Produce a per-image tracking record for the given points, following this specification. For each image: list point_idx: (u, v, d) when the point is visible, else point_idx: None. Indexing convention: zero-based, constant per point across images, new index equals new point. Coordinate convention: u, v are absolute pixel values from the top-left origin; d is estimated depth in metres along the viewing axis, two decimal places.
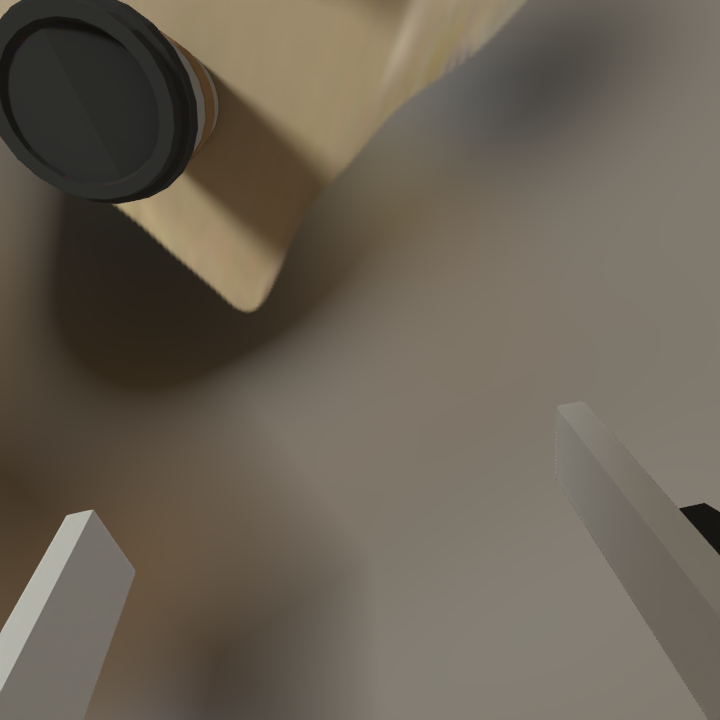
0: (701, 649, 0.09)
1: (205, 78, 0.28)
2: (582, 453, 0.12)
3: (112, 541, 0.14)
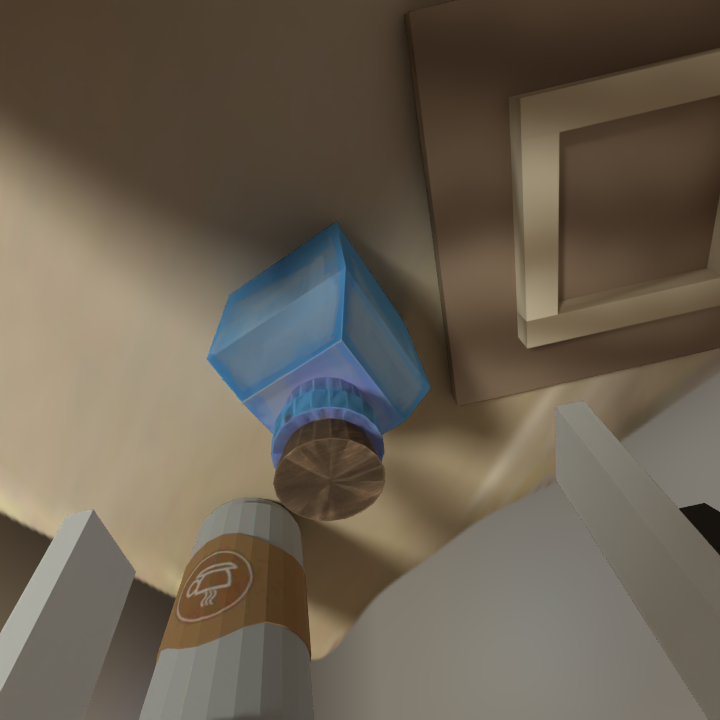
0: (701, 649, 0.09)
1: (301, 585, 0.27)
2: (582, 453, 0.12)
3: (112, 541, 0.14)
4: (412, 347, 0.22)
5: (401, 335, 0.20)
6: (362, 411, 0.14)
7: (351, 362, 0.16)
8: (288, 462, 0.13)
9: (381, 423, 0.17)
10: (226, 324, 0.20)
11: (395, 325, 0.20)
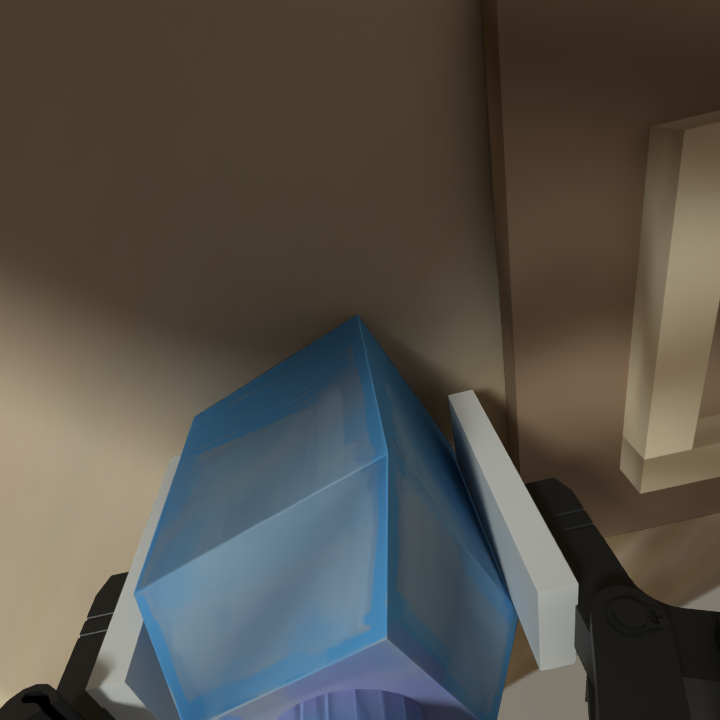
0: (524, 598, 0.10)
1: None
2: (463, 436, 0.13)
3: None
4: (476, 514, 0.14)
5: (465, 511, 0.13)
6: None
7: (404, 667, 0.08)
8: None
9: None
10: (177, 498, 0.12)
11: (455, 493, 0.13)
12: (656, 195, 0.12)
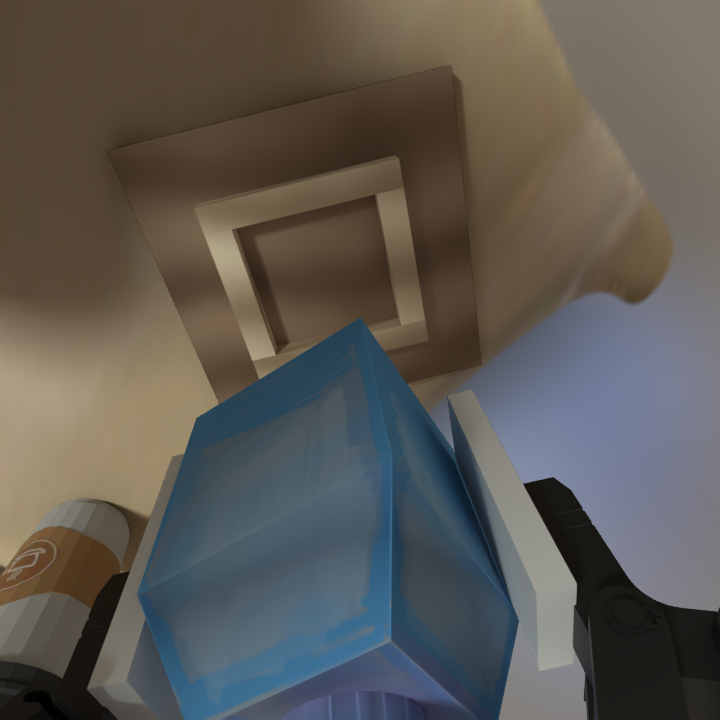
0: (523, 598, 0.10)
1: (106, 567, 0.34)
2: (461, 436, 0.13)
3: None
4: (477, 517, 0.14)
5: (466, 514, 0.13)
6: None
7: (406, 670, 0.08)
8: None
9: None
10: (180, 500, 0.12)
11: (456, 496, 0.13)
12: None
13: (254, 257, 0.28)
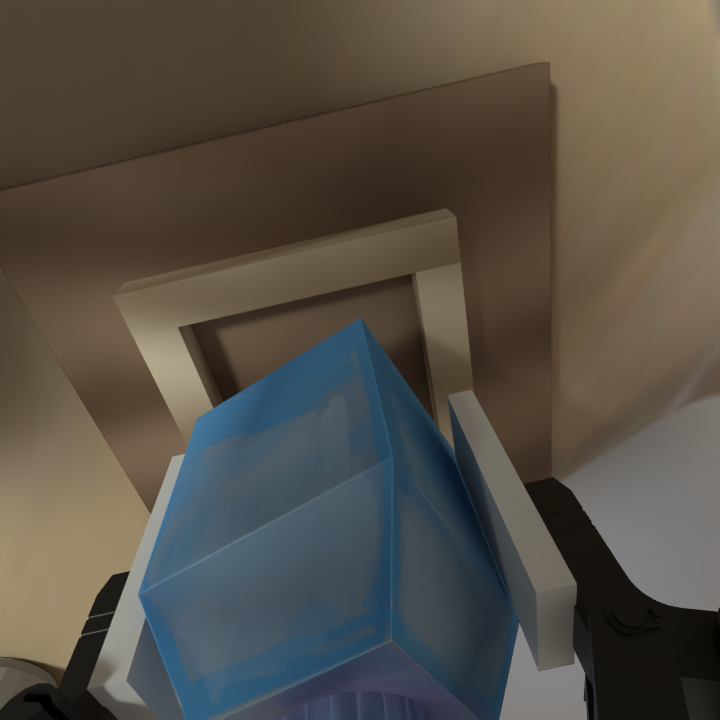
0: (523, 598, 0.10)
1: None
2: (461, 436, 0.13)
3: None
4: (477, 517, 0.14)
5: (467, 514, 0.13)
6: None
7: (407, 669, 0.08)
8: None
9: None
10: (181, 500, 0.12)
11: (457, 496, 0.13)
12: None
13: (219, 360, 0.18)
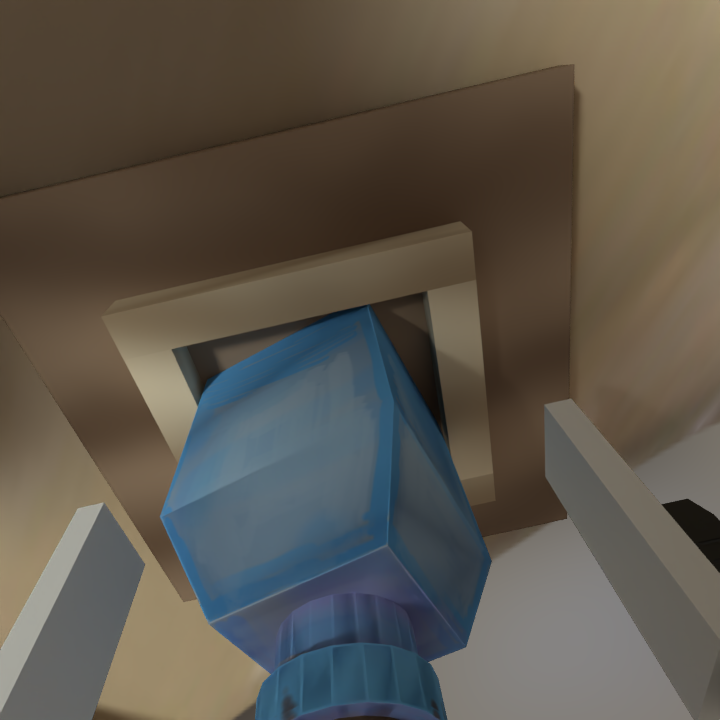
0: (681, 641, 0.09)
1: None
2: (569, 450, 0.12)
3: (122, 534, 0.14)
4: (458, 480, 0.16)
5: (450, 472, 0.14)
6: (421, 696, 0.08)
7: (397, 575, 0.09)
8: None
9: (429, 649, 0.11)
10: (196, 443, 0.13)
11: (442, 457, 0.14)
12: None
13: None
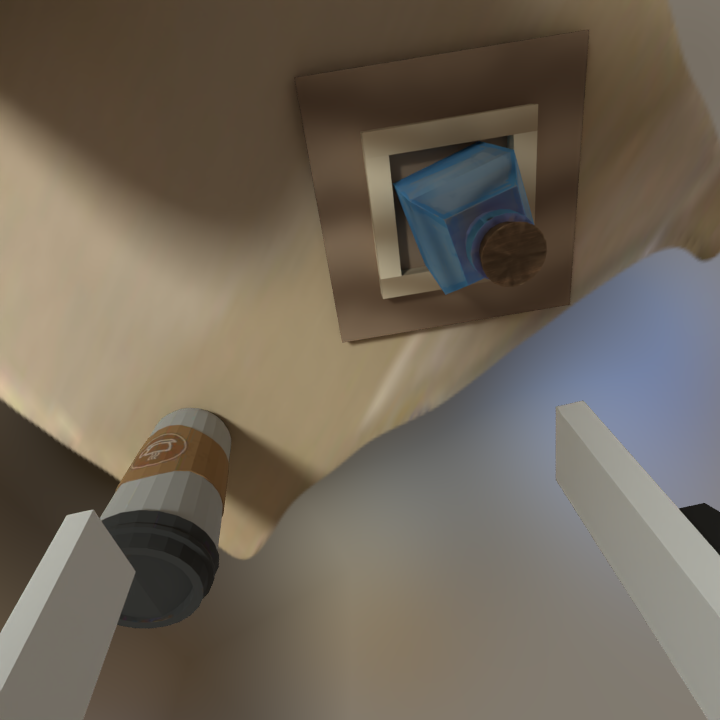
0: (701, 649, 0.09)
1: (223, 463, 0.37)
2: (583, 453, 0.12)
3: (112, 541, 0.14)
4: None
5: None
6: (531, 222, 0.24)
7: (517, 203, 0.25)
8: (497, 235, 0.22)
9: None
10: (409, 189, 0.29)
11: None
12: (364, 158, 0.31)
13: None
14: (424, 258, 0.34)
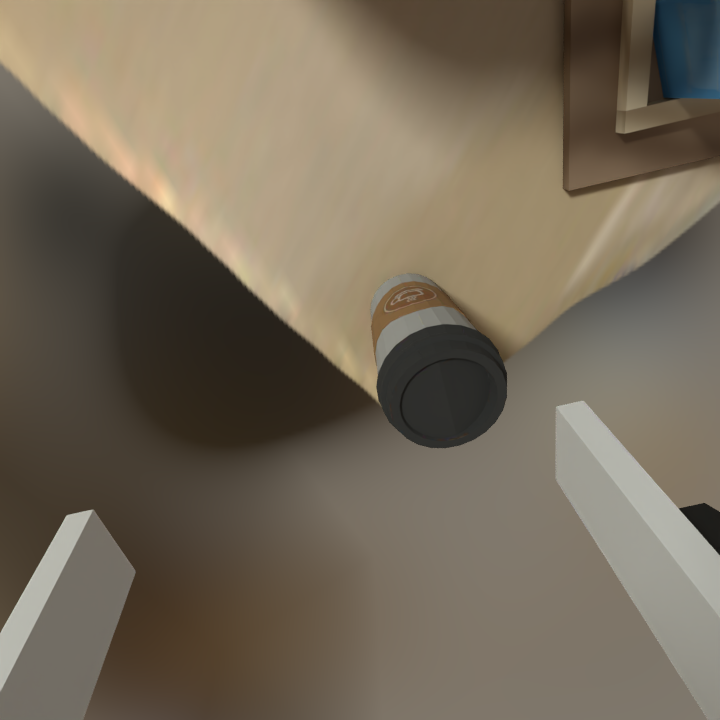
0: (701, 649, 0.09)
1: None
2: (583, 453, 0.12)
3: (112, 541, 0.14)
4: None
5: None
6: None
7: None
8: None
9: None
10: None
11: None
12: None
13: None
14: (674, 83, 0.34)
